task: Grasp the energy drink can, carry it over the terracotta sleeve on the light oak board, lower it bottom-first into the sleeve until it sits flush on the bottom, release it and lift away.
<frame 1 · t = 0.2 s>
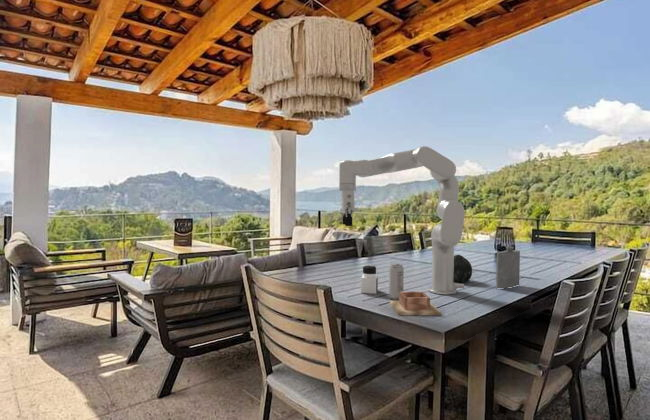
hand: (347, 225, 174), 31 cm above the table, tool pointing down, fingers open, 9 cm apart
energy drink can: (396, 299, 163), on the table
grey tall flat block: (508, 287, 184), on the table
medicine bottle: (369, 292, 175), on the table
can sleeve stand: (414, 308, 149), on the table
squash: (457, 281, 198), on the table
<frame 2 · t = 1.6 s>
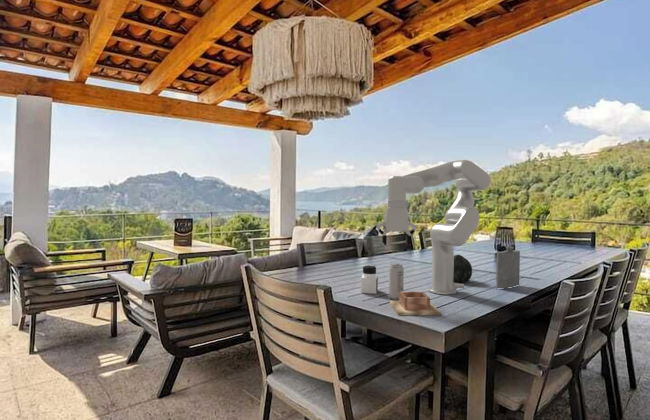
hand: (396, 244, 163), 23 cm above the table, tool pointing down, fingers open, 9 cm apart
nothing on the table moved.
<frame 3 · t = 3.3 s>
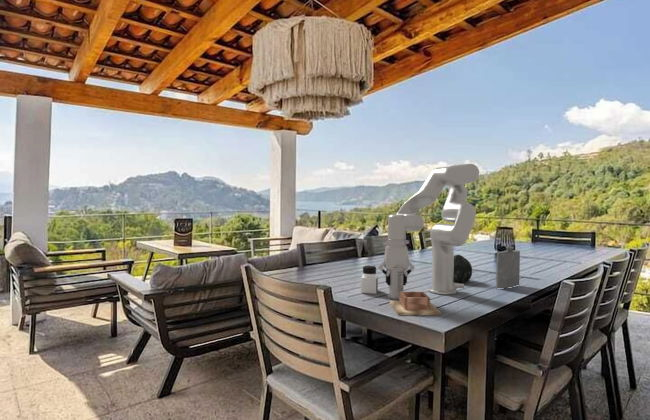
hand: (396, 284, 163), 6 cm above the table, tool pointing down, fingers closed on energy drink can, 6 cm apart
energy drink can: (396, 299, 163), on the table, touching gripper
everything else where it was.
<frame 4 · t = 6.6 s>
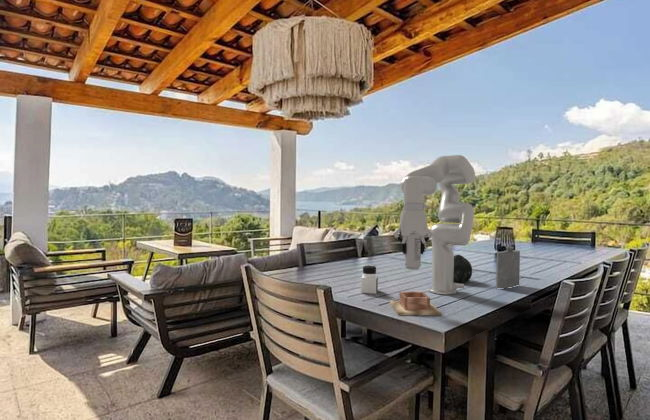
hand: (412, 253, 149), 22 cm above the table, tool pointing down, fingers closed on energy drink can, 6 cm apart
energy drink can: (412, 269, 149), point 15 cm above the table, touching gripper
everything else where it was.
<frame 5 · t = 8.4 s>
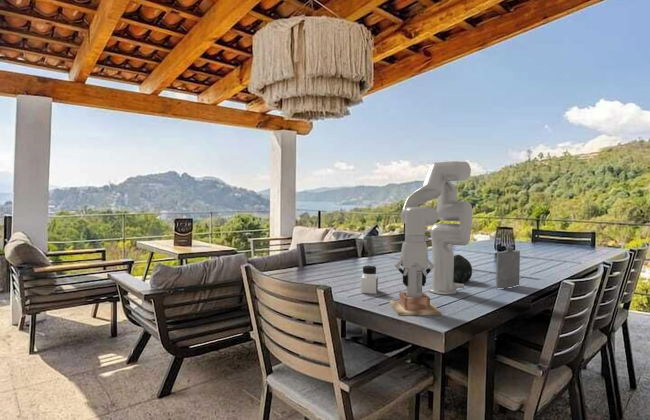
hand: (414, 284, 148), 9 cm above the table, tool pointing down, fingers closed on energy drink can, 6 cm apart
energy drink can: (414, 300, 148), point 3 cm above the table, touching gripper
everything else where it was.
when the fingers open (7 cm above the table, at t = 9.7 s): energy drink can stays where it is, resting on can sleeve stand.
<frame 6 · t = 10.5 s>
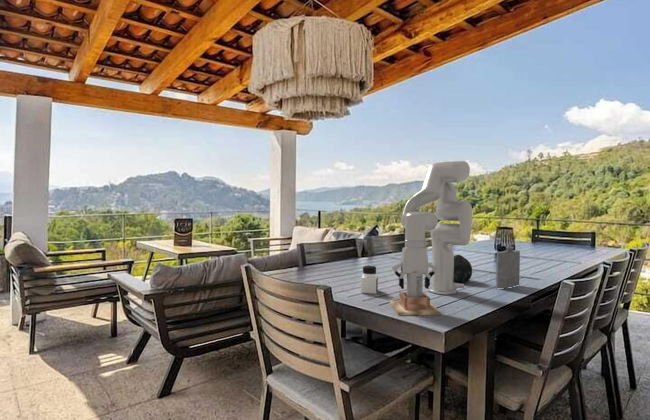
hand: (414, 288, 148), 8 cm above the table, tool pointing down, fingers open, 9 cm apart
energy drink can: (414, 306, 149), point 1 cm above the table, touching can sleeve stand
everything else where it was.
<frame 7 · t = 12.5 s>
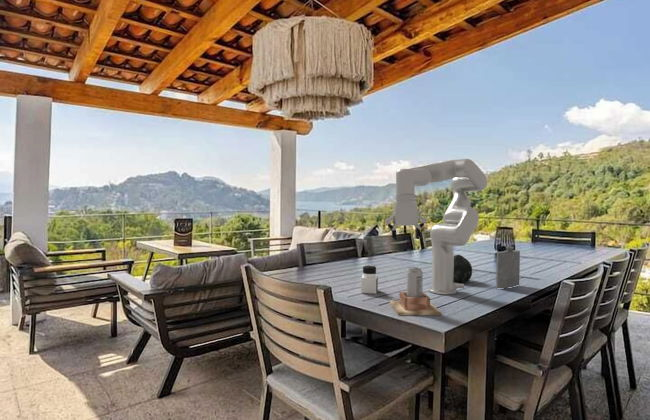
hand: (405, 239, 160), 26 cm above the table, tool pointing down, fingers open, 9 cm apart
nothing on the table moved.
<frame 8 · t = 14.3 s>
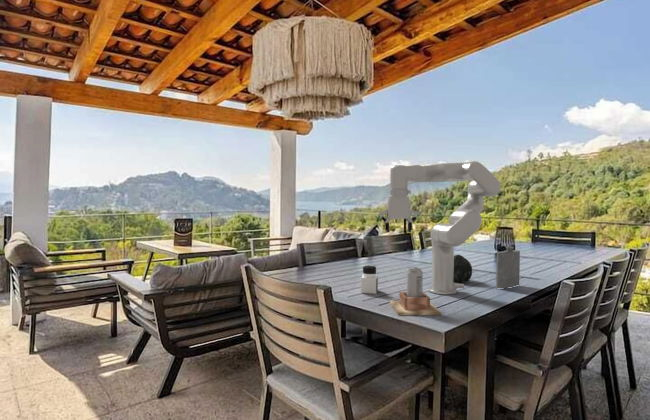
hand: (398, 231, 169), 28 cm above the table, tool pointing down, fingers open, 9 cm apart
nothing on the table moved.
at the end: energy drink can 0.2 cm off-centre on the can sleeve stand, point 0.8 cm above the can sleeve stand's base; energy drink can tilted 0°; the gripper is holding nothing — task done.
